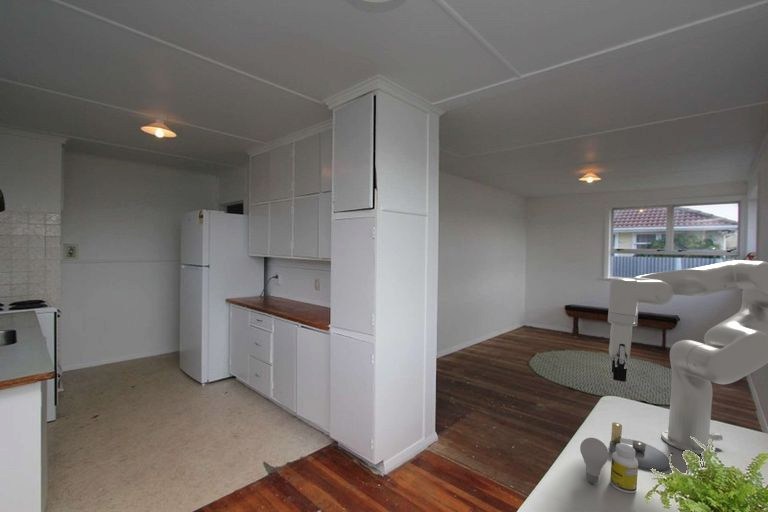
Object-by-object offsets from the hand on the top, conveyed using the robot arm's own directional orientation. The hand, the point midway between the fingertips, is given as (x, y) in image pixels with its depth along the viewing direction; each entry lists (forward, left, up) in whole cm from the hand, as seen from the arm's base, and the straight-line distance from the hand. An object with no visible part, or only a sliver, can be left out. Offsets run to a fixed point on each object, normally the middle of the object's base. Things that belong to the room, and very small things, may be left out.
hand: (618, 376), depth 110 cm
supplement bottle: (+14, +21, -20) cm, 32 cm away
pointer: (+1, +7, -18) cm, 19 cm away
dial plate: (-1, +8, -20) cm, 21 cm away
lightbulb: (+21, +20, -20) cm, 35 cm away
